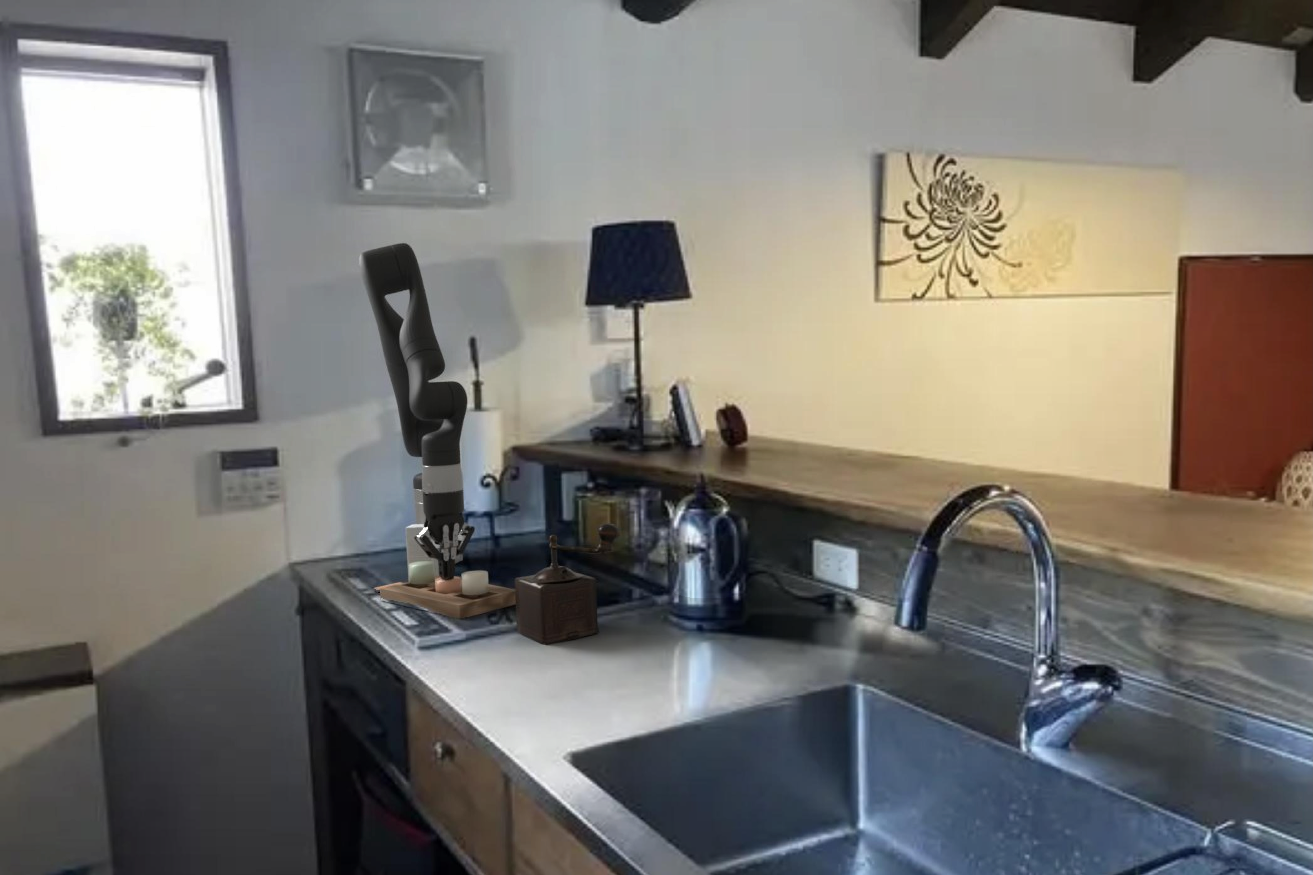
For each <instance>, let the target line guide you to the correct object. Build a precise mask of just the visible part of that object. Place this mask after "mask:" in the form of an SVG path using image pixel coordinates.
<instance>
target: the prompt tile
mask: <svg viewBox="0 0 1313 875" xmlns="http://www.w3.org/2000/svg"><path fill="white" fill-rule="evenodd" d="M402 583H403V582H401V581H399V582H395V583H390V584H386V585H380V586H376V587H374V588H373V590H374V589H376V590H380V588H384V587H389V586H393V585H397V584H402Z"/></svg>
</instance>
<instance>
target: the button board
mask: <svg viewBox="0 0 1313 875" xmlns="http://www.w3.org/2000/svg"><path fill="white" fill-rule="evenodd" d="M437 578H441V577H440V576H439V575H437V576H435V579H437ZM401 583H402V584H397V585H393V586H389V587H384V588H380V593H379V594H380V595H379V597H380V599H381V598H383V599H387V600H394V601H398V602H404V603H410V604H413V605H418V606H420V607H424V608H427V609H429V610H432V611H433V612H437V613H441V614H443V615H448V616H450V617H449V618H452V617H456V618H463V619H466V618H465V617H467V618H470V616H471V617H474V616H477V615H480V614H481V615H482V614H485V613H489V612H492V611H495V610H499V609H500V610H501V609H503V608H507V607H511V606H513V605H515V606H516V600H515V588H509V587H504V586H499V585H493V584H489V583H488V586H489V592H487V593H485V594H480V595H465V594H463V593H462V578H461V591H458V592H454V593H449V594H441V593H436V589H435V581H434V582H432V583H428V584H411V583H410V582H409V581H408V582H401ZM443 615H442V616H443ZM473 615H474V616H473ZM456 618H455V619H456Z"/></svg>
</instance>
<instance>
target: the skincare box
mask: <svg viewBox="0 0 1313 875" xmlns="http://www.w3.org/2000/svg"><path fill="white" fill-rule="evenodd" d="M404 529H405V543H406V558H407V560H406V561H407V575H408V578H407V579H408V582H410V575H409V564H410V563H414V562H420V561H431V562H434V567H435V576H437V575H439V569H438V560H437V559H435V558H429V557H428V555H427V554H426V553H425V552H424V550H423V549H422V548H421V547H420V545H419V544H418V543H417V542H416V540H415V539H414V536H415V535H416V534H420V533H421V532H422V530H423V529H424V524H415V523H413V524H412V523H411V524H410V525H408V526H406V527H404ZM430 538H431V537H430ZM430 541H431V542H432V543H433V540H432V538H431V540H430Z"/></svg>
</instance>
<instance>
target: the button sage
mask: <svg viewBox="0 0 1313 875" xmlns="http://www.w3.org/2000/svg"><path fill="white" fill-rule="evenodd" d="M409 575H410V583H411V584H428V583H432V582H434V581H435V567H434V562H431V561H420V562H414V563H410V564H409Z"/></svg>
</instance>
